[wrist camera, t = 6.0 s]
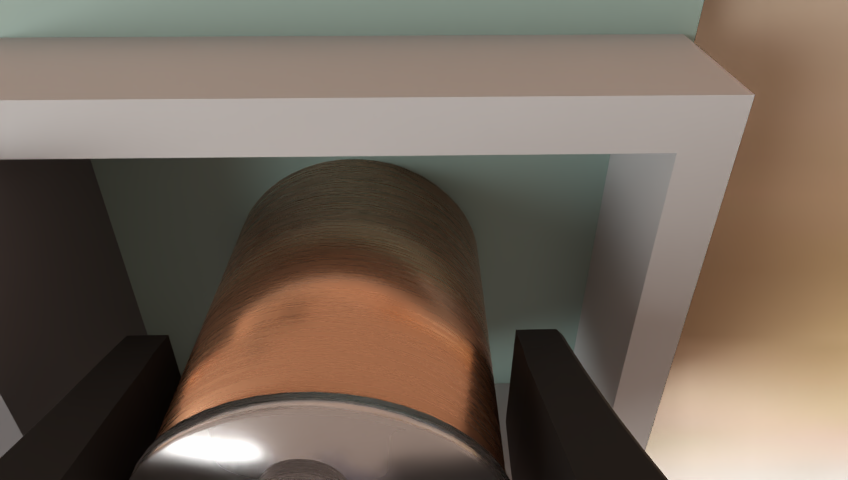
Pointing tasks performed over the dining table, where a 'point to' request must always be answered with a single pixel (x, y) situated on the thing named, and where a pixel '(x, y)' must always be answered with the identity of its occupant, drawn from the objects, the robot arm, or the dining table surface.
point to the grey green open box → (357, 139)
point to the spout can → (340, 342)
